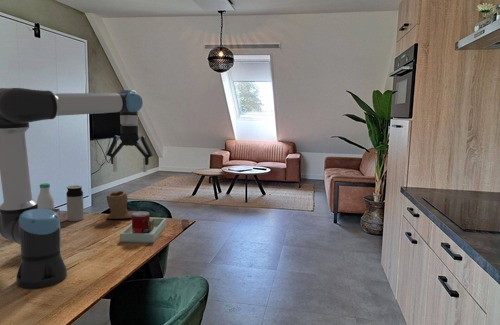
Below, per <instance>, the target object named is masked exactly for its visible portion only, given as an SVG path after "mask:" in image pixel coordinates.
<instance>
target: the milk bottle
mask: <svg viewBox="0 0 500 325" xmlns="http://www.w3.org/2000/svg"><path fill="white" fill-rule="evenodd" d="M50 187H51V184H50V183H40V184H39V189H40V190H39V194H38V196H37V200H36V201H37V204H38V209H55V200H54V196H53V194H52V193H51V190H50Z"/></svg>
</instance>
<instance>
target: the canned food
mask: <svg viewBox="0 0 500 325" xmlns="http://www.w3.org/2000/svg"><path fill="white" fill-rule="evenodd" d="M150 218H151V216H150V212H149V211H144V210H142V211H141V210H139V211H137V212H134V213H132V218H131V223H132V233H147V234H150Z"/></svg>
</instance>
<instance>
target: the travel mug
mask: <svg viewBox="0 0 500 325" xmlns="http://www.w3.org/2000/svg"><path fill="white" fill-rule="evenodd" d="M82 188H83V185H79V184H78V185H77V184H73V185H69V186H66V189H67V192H66V193H65V194H66V213H67V214H66V215H67V221H68V222H69V221H70V222H78V221H82V220H84V219H85V215H84V214H85V212H84V210H85V209H84V191H83V190H82Z"/></svg>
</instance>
